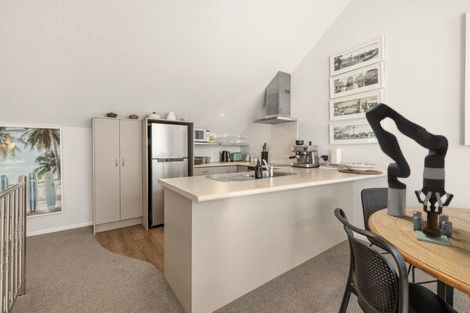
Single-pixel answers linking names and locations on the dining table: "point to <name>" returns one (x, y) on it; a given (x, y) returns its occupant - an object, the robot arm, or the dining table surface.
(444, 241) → the green mat
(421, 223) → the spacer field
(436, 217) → the wooden pepper mill
